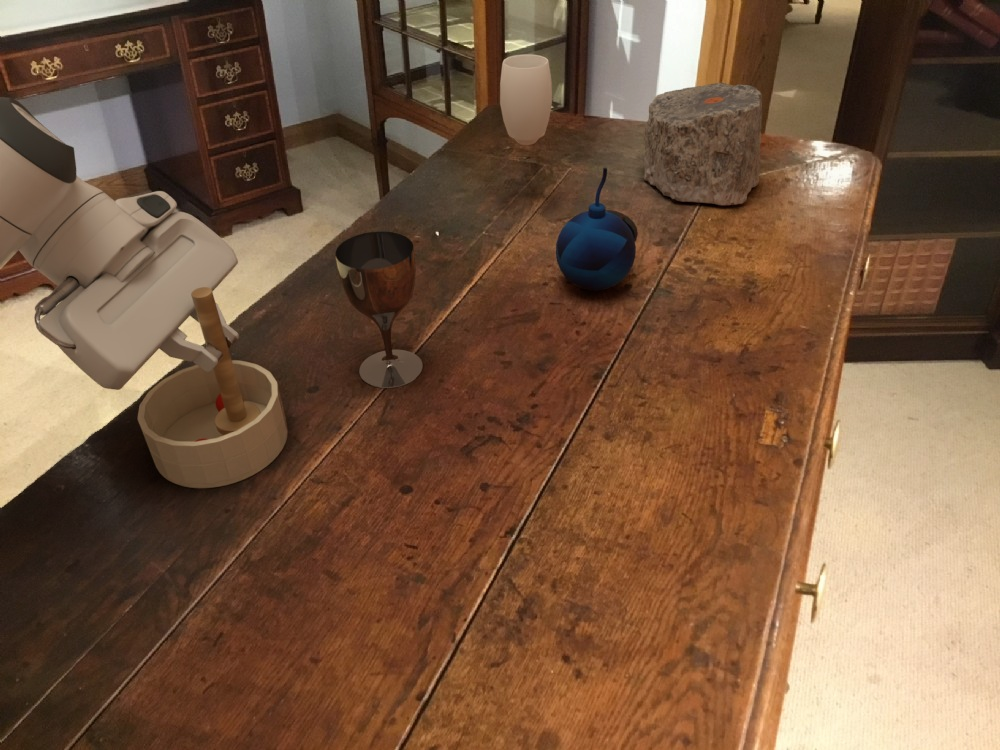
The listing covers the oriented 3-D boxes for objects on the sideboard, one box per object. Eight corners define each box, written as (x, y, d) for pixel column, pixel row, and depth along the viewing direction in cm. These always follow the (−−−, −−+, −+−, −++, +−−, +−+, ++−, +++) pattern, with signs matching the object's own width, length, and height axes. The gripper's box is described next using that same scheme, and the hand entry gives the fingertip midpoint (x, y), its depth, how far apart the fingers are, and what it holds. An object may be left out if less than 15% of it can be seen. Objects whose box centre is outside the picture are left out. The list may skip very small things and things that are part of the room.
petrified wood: (637, 159, 139) (643, 65, 130) (745, 157, 138) (758, 63, 129) (648, 211, 124) (656, 109, 115) (769, 209, 123) (786, 106, 114)
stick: (209, 436, 83) (167, 305, 74) (225, 407, 86) (186, 279, 77) (253, 437, 82) (216, 305, 73) (267, 408, 86) (233, 279, 77)
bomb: (650, 273, 110) (659, 163, 101) (610, 313, 103) (616, 198, 94) (583, 255, 114) (586, 148, 105) (541, 291, 107) (540, 180, 98)
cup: (493, 204, 127) (487, 63, 115) (525, 187, 132) (522, 49, 119) (530, 217, 123) (528, 73, 111) (561, 200, 128) (563, 59, 115)
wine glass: (435, 379, 93) (423, 259, 84) (365, 397, 91) (345, 276, 82) (414, 341, 99) (401, 225, 90) (347, 358, 97) (327, 240, 88)
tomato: (215, 422, 88) (208, 400, 86) (224, 404, 90) (218, 384, 88) (241, 422, 88) (235, 401, 86) (250, 405, 90) (244, 384, 88)
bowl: (131, 486, 82) (114, 443, 78) (183, 399, 92) (169, 358, 89) (265, 490, 80) (253, 447, 77) (302, 402, 91) (293, 361, 88)
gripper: (35, 294, 65) (183, 407, 69) (173, 183, 81) (287, 280, 85) (7, 337, 69) (149, 442, 73) (145, 222, 85) (256, 314, 89)
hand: (225, 354), depth 79 cm, fingers closed on stick, 2 cm apart
